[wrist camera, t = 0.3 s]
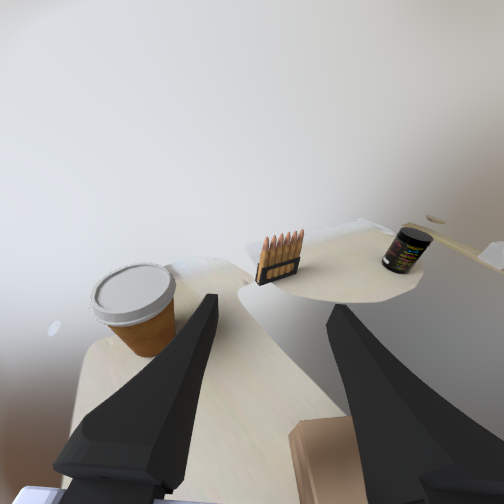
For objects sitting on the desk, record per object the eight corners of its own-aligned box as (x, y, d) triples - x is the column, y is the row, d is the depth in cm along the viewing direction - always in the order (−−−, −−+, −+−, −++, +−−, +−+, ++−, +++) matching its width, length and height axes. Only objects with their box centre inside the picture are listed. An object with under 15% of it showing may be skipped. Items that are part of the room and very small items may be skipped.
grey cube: (513, 268, 56) (532, 252, 53) (500, 270, 55) (519, 254, 51) (488, 256, 61) (505, 241, 57) (476, 258, 59) (492, 242, 56)
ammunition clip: (258, 286, 41) (265, 240, 35) (254, 280, 43) (260, 235, 36) (296, 273, 46) (309, 230, 39) (291, 268, 47) (303, 226, 40)
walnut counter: (455, 538, 17) (513, 544, 14) (311, 567, 16) (336, 582, 12) (394, 423, 24) (424, 408, 20) (288, 435, 22) (300, 420, 19)
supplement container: (414, 275, 49) (440, 242, 43) (390, 274, 49) (413, 240, 43) (397, 259, 55) (418, 228, 49) (375, 258, 54) (394, 226, 48)
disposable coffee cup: (180, 306, 36) (170, 255, 29) (190, 353, 29) (178, 302, 22) (122, 322, 32) (93, 268, 25) (116, 381, 25) (74, 330, 18)
